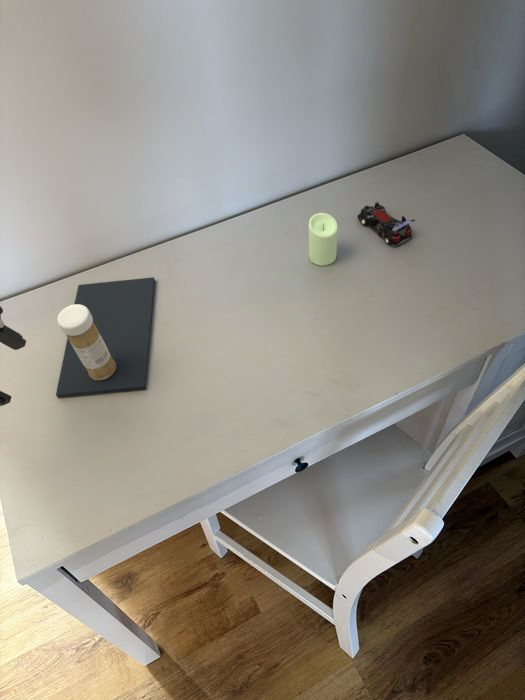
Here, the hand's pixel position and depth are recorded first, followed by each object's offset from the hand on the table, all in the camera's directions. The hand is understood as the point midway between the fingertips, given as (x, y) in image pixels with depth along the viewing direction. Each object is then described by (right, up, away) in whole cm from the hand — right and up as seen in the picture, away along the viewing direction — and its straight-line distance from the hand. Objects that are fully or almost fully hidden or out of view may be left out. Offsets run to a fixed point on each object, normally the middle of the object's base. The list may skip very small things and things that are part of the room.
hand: (14, 372), depth 69 cm
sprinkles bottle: (+7, 0, +17) cm, 18 cm away
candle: (+43, +20, +30) cm, 56 cm away
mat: (+6, +5, +22) cm, 24 cm away
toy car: (+55, +26, +34) cm, 70 cm away
